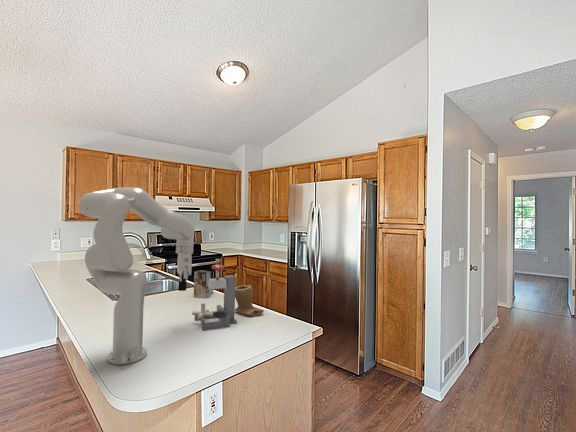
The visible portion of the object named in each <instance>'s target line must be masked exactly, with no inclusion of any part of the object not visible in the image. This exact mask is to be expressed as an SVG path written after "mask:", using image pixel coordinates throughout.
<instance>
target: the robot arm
mask: <svg viewBox="0 0 576 432" xmlns="http://www.w3.org/2000/svg"><path fill="white" fill-rule="evenodd" d="M78 209H79V211H80V212H81V214H83V215H84V216H86V217H89V218H94V219H96V218H97V219H98V220H97V222H96V223H95V226H94V229H93V241H94V242H95V244H92V245H91V246H89V247H88V248H87V250H86V252H85V255H84V263H85V266H86V268H87V270H88V273H89V275H90V276H91V278H92V279H93V281H94V283H95V285H96V287H97V288H98V289H99V291H100V292H102V293H105V294H109V295H117V296H119V298H118V299H117V301H116V303H115V305H114V308H113V326H112V327H113V329H112V333H113V334H112V351H111V352H110V353H109V354H108V355H107V362H108V363H110V364H111V365H116V366H117V365H120V366H121V365H122V366H123V365H129V364H134V363H136V362H139V361H140V360H142V359H144V358H145V357H146V356H147V355H148V352H147V349H146V347H143V337H144V335H143V334H144V333H143V331H144V306H145V305H144V303H145V295H146V291H147V287H148V277H147V275H146V273H144V272H143V271H142V270H139V269H134V268H132V266H133V264H134V257H133V254H132V251H131V248H130V247H129V244H128V242H127V240H126V237H125V235H124V232H123V225H124V222H125V219H126V217H127V215H128V214H129V211H131V212H132V213H134V214H135V215H137V216H139V217H140V218H141V219H142V220H143V221H145V222H146V223H147V224H149V225H153V226H156V227H159V228H160V235H161V236H162V237H163V238H165V239H167V240H176V244H175V245H176V246H175V254H177V262H176V263H177V266H176V273H177V274H178V286H177V289H178V291H179V292H184V291H187V283H188V282H187V281H188V280H187V279H188V276H192V267H193V266H192V264H193V263H192V262H193V261H192V259H193V258H192V257H193V256H192V254H194V242H195V228H196V227H195V225H194V223H192V222H191V221H190V220H189V219H188V218H187V217H186V216H184V215H182V214H180V213H179V212H176V211H174V210H172V209H170V208H167V207H165V206H163V205H162V204H160V202H158V201H157V200H156V199H155V198H154V197H152V196H151V194H149V192H147V191H146V190H144V189H143V188H141V187H135V186H134V187H126V186H125V187H115V188H109V189H103V190H97V191H90V192H88V193H87V192H86V193H85V194H84V195H82V196H81V197H80V199H79V201H78Z"/></svg>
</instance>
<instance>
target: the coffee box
mask: <svg viewBox="0 0 576 432" xmlns="http://www.w3.org/2000/svg"><path fill="white" fill-rule="evenodd" d="M193 274H194V276H193V298H200V299H208V298H210V297H211V296H212V294H210V288H209V287H208V280H209V279H212V271H211V270H203V269H202V270H201V269H200V270H195V271H194V273H193Z"/></svg>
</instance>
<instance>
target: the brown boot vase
mask: <svg viewBox="0 0 576 432" xmlns="http://www.w3.org/2000/svg"><path fill="white" fill-rule="evenodd" d="M253 298H254V288H253V287H252V285H251V284H248V285H245V284H243V285H239V286H235V302H236V303H237V307H235V313H238V314H242V315H245V316H249V317H258V316H260V315H262V314H264V312H265V310H264V309H261V308H257V307H256V306H253Z"/></svg>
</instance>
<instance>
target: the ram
mask: <svg viewBox="0 0 576 432" xmlns="http://www.w3.org/2000/svg"><path fill="white" fill-rule="evenodd" d="M224 267H225V266H224V264H213V265H211V270H212V271H213V270H214V271H215V272H216V273H215V278H211V279H209V280H208V287H209V288H210V294H211V295H212V294H214V290H216V289H217V290H219V289H224V288H226V279H225V277H220V271H222V270H224V269H225V268H224Z"/></svg>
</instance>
